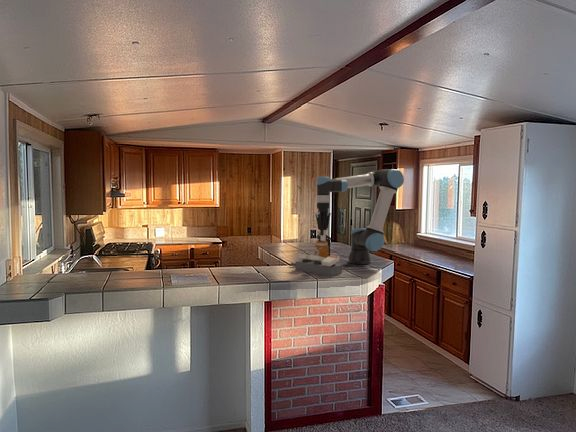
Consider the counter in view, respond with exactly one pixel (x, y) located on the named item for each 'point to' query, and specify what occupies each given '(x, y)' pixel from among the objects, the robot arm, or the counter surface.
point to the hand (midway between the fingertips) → (323, 240)
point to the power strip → (317, 267)
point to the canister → (322, 247)
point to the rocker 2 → (317, 258)
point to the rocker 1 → (304, 256)
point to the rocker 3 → (330, 260)
